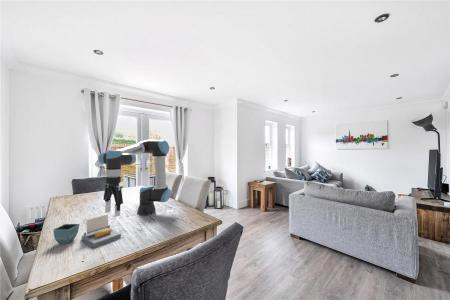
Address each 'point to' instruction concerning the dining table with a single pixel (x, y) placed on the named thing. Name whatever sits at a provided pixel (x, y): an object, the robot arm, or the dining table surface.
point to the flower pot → (66, 233)
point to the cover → (97, 223)
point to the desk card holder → (100, 238)
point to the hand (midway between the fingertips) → (112, 214)
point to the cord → (102, 232)
